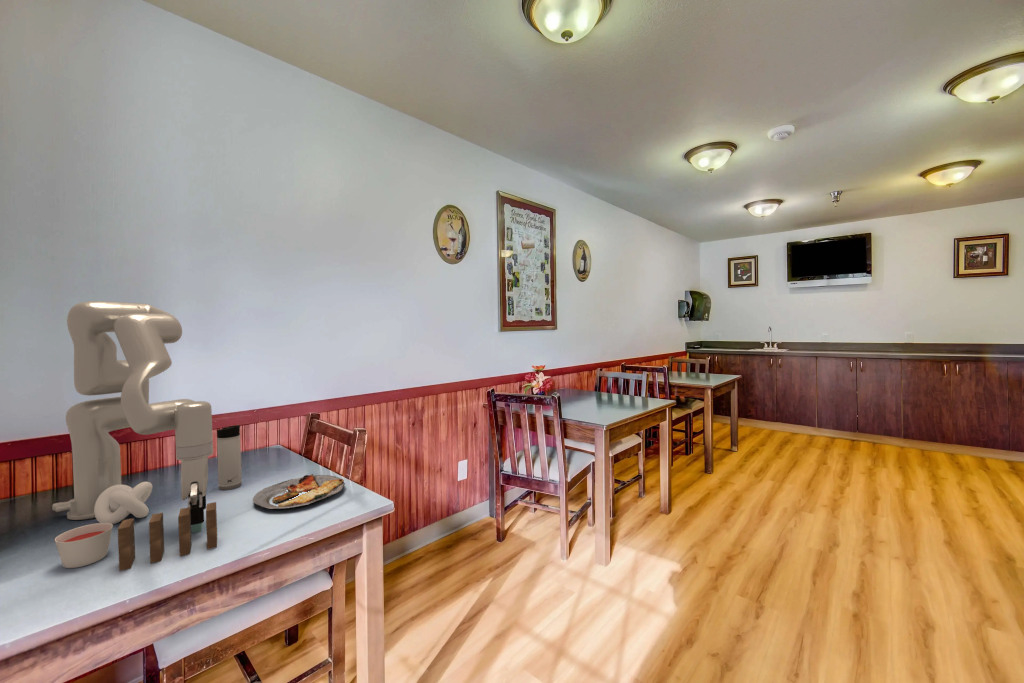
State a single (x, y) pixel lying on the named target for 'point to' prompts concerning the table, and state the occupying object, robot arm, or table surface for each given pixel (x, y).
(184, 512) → the domino
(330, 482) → the food plate
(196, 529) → the domino
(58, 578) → the table surface
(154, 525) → the domino
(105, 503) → the white knot
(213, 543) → the domino
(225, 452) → the travel mug
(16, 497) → the table surface
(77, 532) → the candle
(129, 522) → the domino
